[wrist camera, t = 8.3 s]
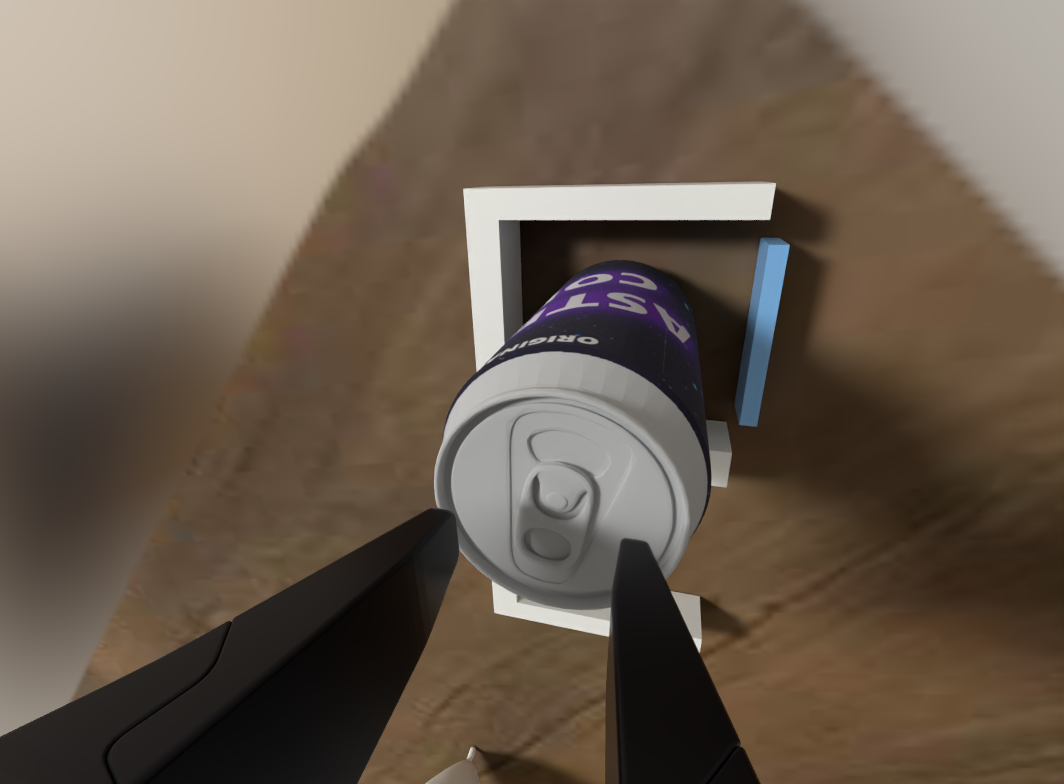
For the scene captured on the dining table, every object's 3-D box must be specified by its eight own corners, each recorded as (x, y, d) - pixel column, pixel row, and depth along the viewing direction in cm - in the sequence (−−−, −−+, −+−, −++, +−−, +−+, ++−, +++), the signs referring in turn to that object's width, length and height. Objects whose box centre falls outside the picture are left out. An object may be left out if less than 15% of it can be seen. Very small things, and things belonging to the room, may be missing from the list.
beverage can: (715, 274, 18) (767, 422, 7) (671, 409, 21) (663, 662, 10) (565, 242, 19) (423, 332, 8) (540, 374, 22) (407, 572, 11)
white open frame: (789, 180, 16) (806, 183, 14) (714, 614, 24) (718, 659, 22) (488, 186, 19) (463, 188, 17) (509, 576, 27) (494, 612, 25)
